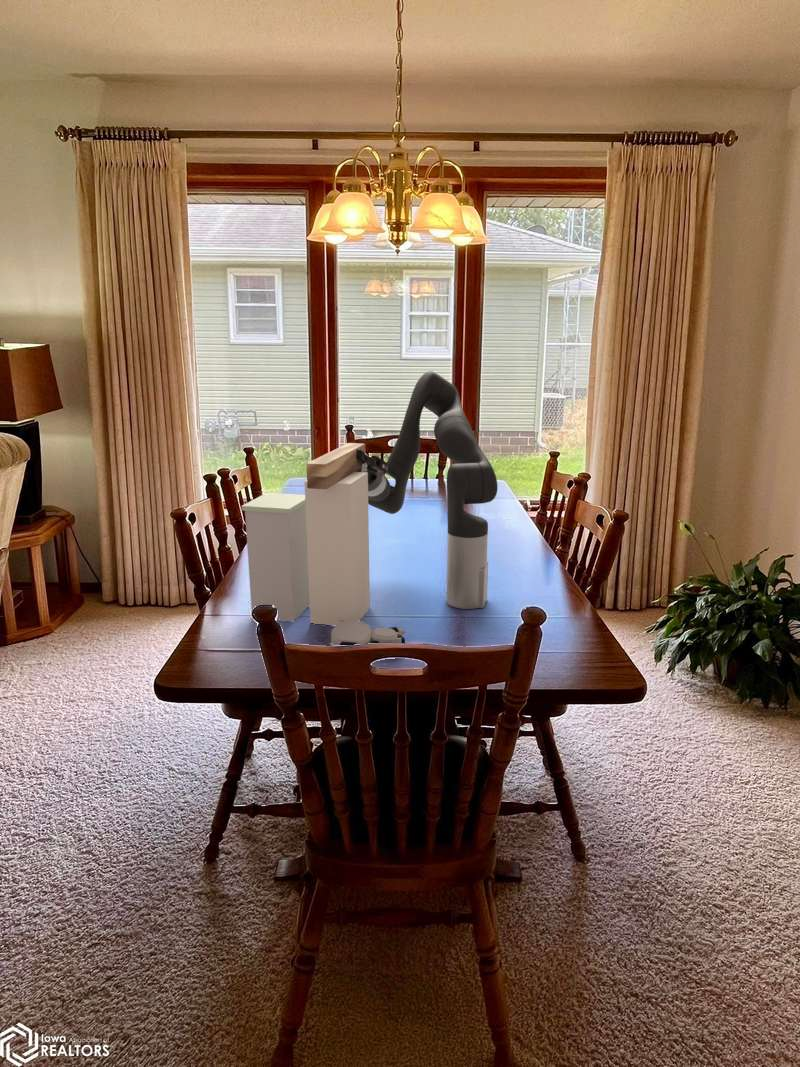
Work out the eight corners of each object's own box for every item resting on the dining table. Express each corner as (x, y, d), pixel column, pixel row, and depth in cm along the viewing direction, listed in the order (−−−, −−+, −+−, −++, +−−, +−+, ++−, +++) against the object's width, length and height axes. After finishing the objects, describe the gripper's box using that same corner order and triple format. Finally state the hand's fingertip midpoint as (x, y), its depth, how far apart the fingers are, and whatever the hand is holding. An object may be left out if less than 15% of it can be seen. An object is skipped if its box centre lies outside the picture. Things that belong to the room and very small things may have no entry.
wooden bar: (365, 465, 165) (365, 443, 164) (326, 489, 141) (325, 464, 139) (349, 464, 166) (348, 442, 165) (307, 488, 142) (306, 463, 140)
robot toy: (405, 641, 151) (334, 635, 151) (406, 621, 150) (335, 615, 150) (402, 668, 139) (326, 661, 139) (404, 646, 138) (327, 640, 138)
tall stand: (369, 608, 166) (367, 472, 157) (353, 628, 155) (350, 483, 146) (329, 604, 168) (324, 470, 159) (310, 623, 157) (304, 481, 148)
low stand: (316, 601, 170) (312, 495, 162) (294, 623, 158) (289, 508, 150) (273, 597, 172) (267, 492, 165) (249, 618, 160) (241, 505, 153)
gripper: (342, 461, 177) (320, 435, 161) (398, 464, 174) (381, 437, 157) (338, 490, 175) (315, 467, 159) (394, 493, 172) (376, 470, 156)
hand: (348, 452), depth 158 cm, fingers closed on wooden bar, 4 cm apart
